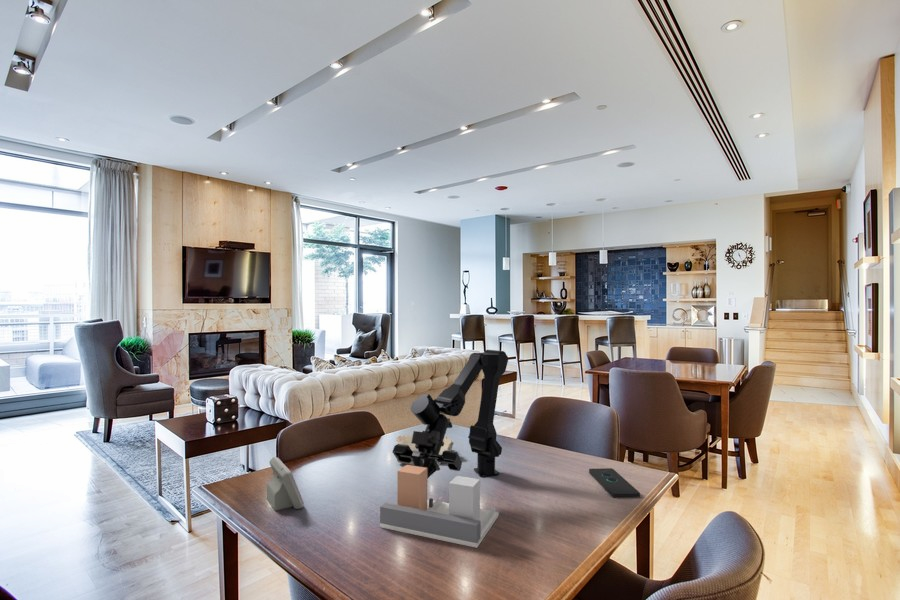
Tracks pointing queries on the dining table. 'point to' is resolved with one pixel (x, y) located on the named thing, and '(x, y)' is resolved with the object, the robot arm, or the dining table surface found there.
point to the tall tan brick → (412, 487)
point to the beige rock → (407, 441)
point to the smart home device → (614, 483)
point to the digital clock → (282, 487)
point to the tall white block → (464, 497)
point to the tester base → (437, 522)
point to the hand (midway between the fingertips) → (416, 487)
